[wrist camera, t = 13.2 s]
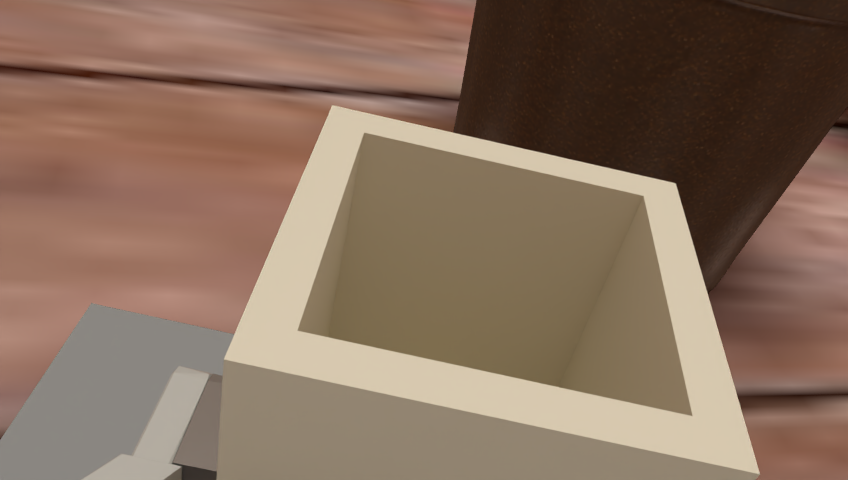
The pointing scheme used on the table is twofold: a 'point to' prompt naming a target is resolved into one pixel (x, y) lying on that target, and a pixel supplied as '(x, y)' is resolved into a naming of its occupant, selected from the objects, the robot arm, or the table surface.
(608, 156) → the plant pot
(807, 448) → the table surface
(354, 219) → the collar
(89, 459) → the post plate
